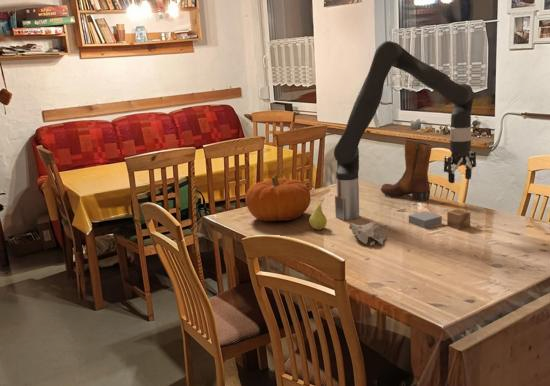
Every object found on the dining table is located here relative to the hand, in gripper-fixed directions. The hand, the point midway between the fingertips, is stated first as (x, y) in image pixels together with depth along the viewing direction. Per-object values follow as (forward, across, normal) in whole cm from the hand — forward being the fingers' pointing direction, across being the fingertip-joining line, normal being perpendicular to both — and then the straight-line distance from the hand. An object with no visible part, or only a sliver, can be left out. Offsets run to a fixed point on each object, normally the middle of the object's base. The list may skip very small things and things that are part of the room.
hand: (459, 180), depth 211 cm
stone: (+19, +36, -11) cm, 42 cm away
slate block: (+19, +7, -11) cm, 23 cm away
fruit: (+18, +44, -32) cm, 58 cm away
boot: (+18, -12, -45) cm, 50 cm away
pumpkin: (+18, +50, -56) cm, 77 cm away
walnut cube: (+18, 0, 0) cm, 18 cm away
